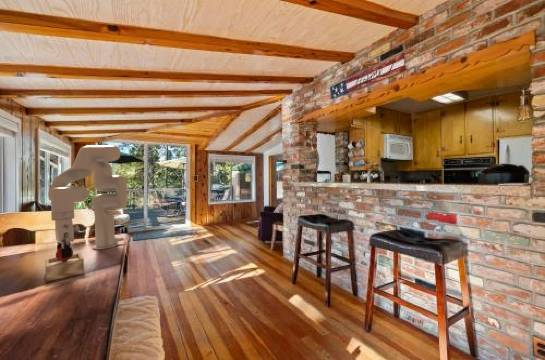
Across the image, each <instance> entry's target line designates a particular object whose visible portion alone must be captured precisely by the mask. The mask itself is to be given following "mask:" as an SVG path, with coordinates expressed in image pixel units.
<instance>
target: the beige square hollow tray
mask: <svg viewBox="0 0 545 360" xmlns="http://www.w3.org/2000/svg"><path fill="white" fill-rule="evenodd" d="M82 255H83V254H82V253H81V252H78V253H73V256H72V257H71V258H70V259H69V260H68V261H67V262H62V261H60V260H58V259H57V258H56V256H55V257H50V258H49V257H48V258H45V260H44V261H45V262H44V263H45V265H44V267H45V282H50V281H54V280H58V279H63V278H67V277H72V276H76V275H81V274H84V273H85V265H84V263H85V262H84V261H85V259H84V257H83V256H82Z"/></svg>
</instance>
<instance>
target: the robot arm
mask: <svg viewBox="0 0 545 360" xmlns="http://www.w3.org/2000/svg"><path fill="white" fill-rule="evenodd" d="M120 158H121V150H120V148H119V147H118V146H116V145H105V144H104V145H103V144H101V145H99V144H98V145H97V144H95V145H93V144H92V145H85V146H82V147H80V148H79V150H78V153H77V154H76V157H75V159H74V162H73V164H72V165H71V167H70V168H68V169H65V170H64V171H63V172H62V173H60V174H59V175H57V176H56V177H55V178H54V180H53V181H52V182H51V185H50V187H49V190H48V193H47V194H48V195H47V196H48V200H49V201H50V207H51V208H50V209H51V210H50V211H51V215H50V216H51V217H50V218H51V221H53V222H54V226H55V227H54V228H55V229H54V230H55V231H54V232H55V240H56V242H57V243H56V244H57V245H56V251H57V250H58V249H59V248H60V247H62V249H61V251H62V258H68V257H71V256H72V250H73V248H72V243H73V242H74V241H75V234H74V224H73V219H75V203H83V202H85V201H86V200H87V199H88V198H89V195H90V193H89V192H90V191H89V190H88V188H87V187H84V186H82V185H70V184H72V183H73V182H75V181H79V180H83V179H84V178H87V177H90V176H91V175H92V174H93V172H94V186H95V190H97V191H98V192H111V193H98V194H96V195H93V198H92V199H91V203H92V207H93V213H94V231H95V234H94V235H95V236H94V237H95V238H94V239H95V244H94V245H92V246H91V247H92V250H106V249H112V248H115V247H117V246H118V245H119V242H123V241H124V240H125V238H124V237H116V235H115V232H116V231H115V229H116V228H115V216H114V213H113V212H112V210H123V209H125V208H126V207H127V205H128V185H127V183H128V182H127V180H126V178H125V176H124V175H120V174H113V172H112V171H113V168H112V166H111V164H110V163H109V162H115V161H118V160H119V159H120ZM112 192H116V193H112ZM71 242H72V243H71Z"/></svg>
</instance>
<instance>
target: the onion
mask: <svg viewBox="0 0 545 360" xmlns="http://www.w3.org/2000/svg"><path fill="white" fill-rule="evenodd" d="M61 249H62V247H60V248H59V249H58V250H57V249H56V252H55V257H56V258H57V259H58V260H60V261H62V262H67V261H68V260H69V259H70V258H71V257H72V256H73V254H74V250H73V249H72V256H71V257H68V258H62V251H61Z"/></svg>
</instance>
